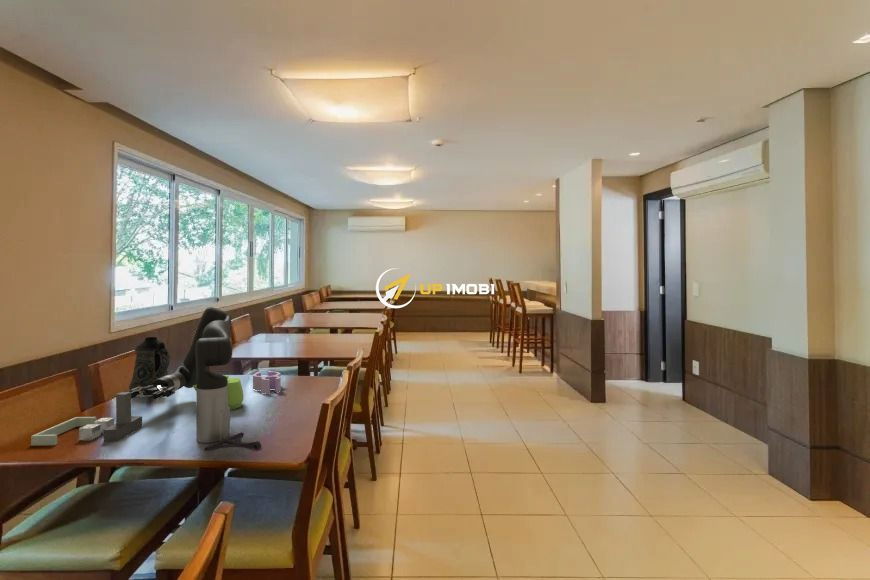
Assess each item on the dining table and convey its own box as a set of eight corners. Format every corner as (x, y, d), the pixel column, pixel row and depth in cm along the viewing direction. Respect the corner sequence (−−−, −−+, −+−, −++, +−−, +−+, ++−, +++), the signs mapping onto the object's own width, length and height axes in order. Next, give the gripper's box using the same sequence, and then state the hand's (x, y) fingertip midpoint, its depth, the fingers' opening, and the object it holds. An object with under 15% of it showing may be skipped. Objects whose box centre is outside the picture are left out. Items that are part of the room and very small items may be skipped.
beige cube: (114, 429, 156) (114, 417, 155) (106, 433, 152) (106, 421, 151) (102, 429, 155) (102, 417, 155) (94, 433, 151) (94, 421, 151)
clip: (286, 392, 208) (286, 377, 207) (258, 396, 201) (258, 380, 201) (276, 383, 224) (276, 370, 224) (250, 386, 218) (250, 372, 217)
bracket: (242, 459, 132) (242, 450, 132) (204, 452, 138) (204, 443, 138) (275, 443, 146) (275, 434, 146) (240, 437, 151) (240, 428, 151)
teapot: (189, 417, 169) (189, 383, 169) (196, 403, 188) (196, 372, 187) (242, 412, 176) (242, 379, 175) (244, 399, 194) (244, 369, 194)
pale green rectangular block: (96, 425, 159) (96, 416, 159) (54, 445, 140) (54, 435, 140) (75, 425, 158) (75, 417, 158) (31, 445, 139) (31, 436, 139)
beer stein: (143, 387, 214) (143, 335, 213) (184, 387, 214) (184, 335, 214) (120, 396, 197) (119, 339, 197) (164, 396, 198) (164, 340, 197)
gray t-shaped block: (142, 427, 158) (142, 388, 157) (116, 442, 144) (116, 398, 143) (130, 427, 157) (130, 388, 157) (103, 442, 143) (103, 398, 143)
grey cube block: (100, 436, 149) (100, 424, 148) (92, 440, 145) (92, 428, 144) (87, 436, 148) (87, 424, 148) (79, 440, 144) (79, 428, 144)
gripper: (146, 376, 176) (120, 386, 160) (183, 376, 177) (161, 386, 161) (146, 395, 176) (120, 407, 160) (183, 395, 177) (161, 407, 161)
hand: (141, 396), depth 160 cm, fingers open, 8 cm apart
